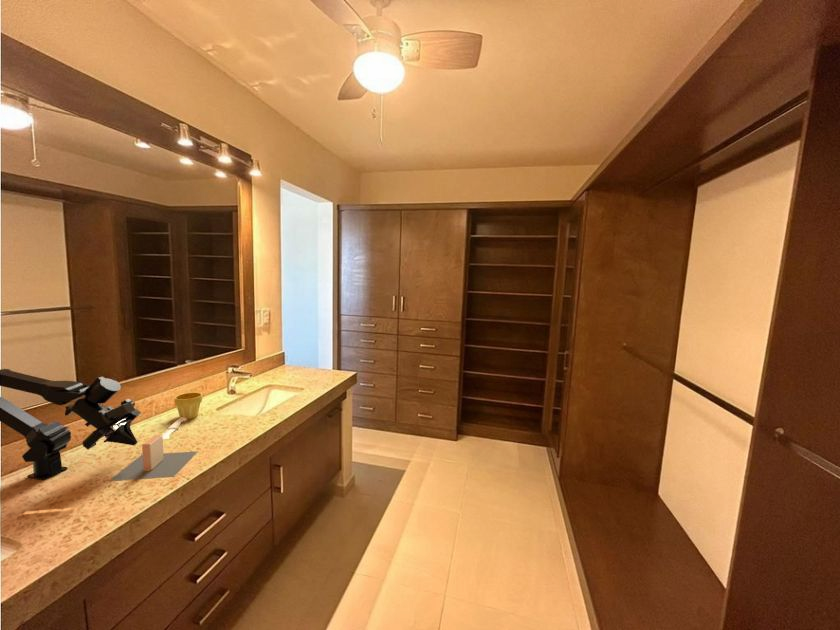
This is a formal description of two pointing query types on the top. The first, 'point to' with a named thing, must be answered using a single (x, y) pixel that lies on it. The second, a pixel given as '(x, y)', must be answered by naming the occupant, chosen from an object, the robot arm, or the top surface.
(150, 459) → the tile
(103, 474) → the top surface
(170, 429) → the knife
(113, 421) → the robot arm
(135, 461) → the mat
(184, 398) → the plant pot
